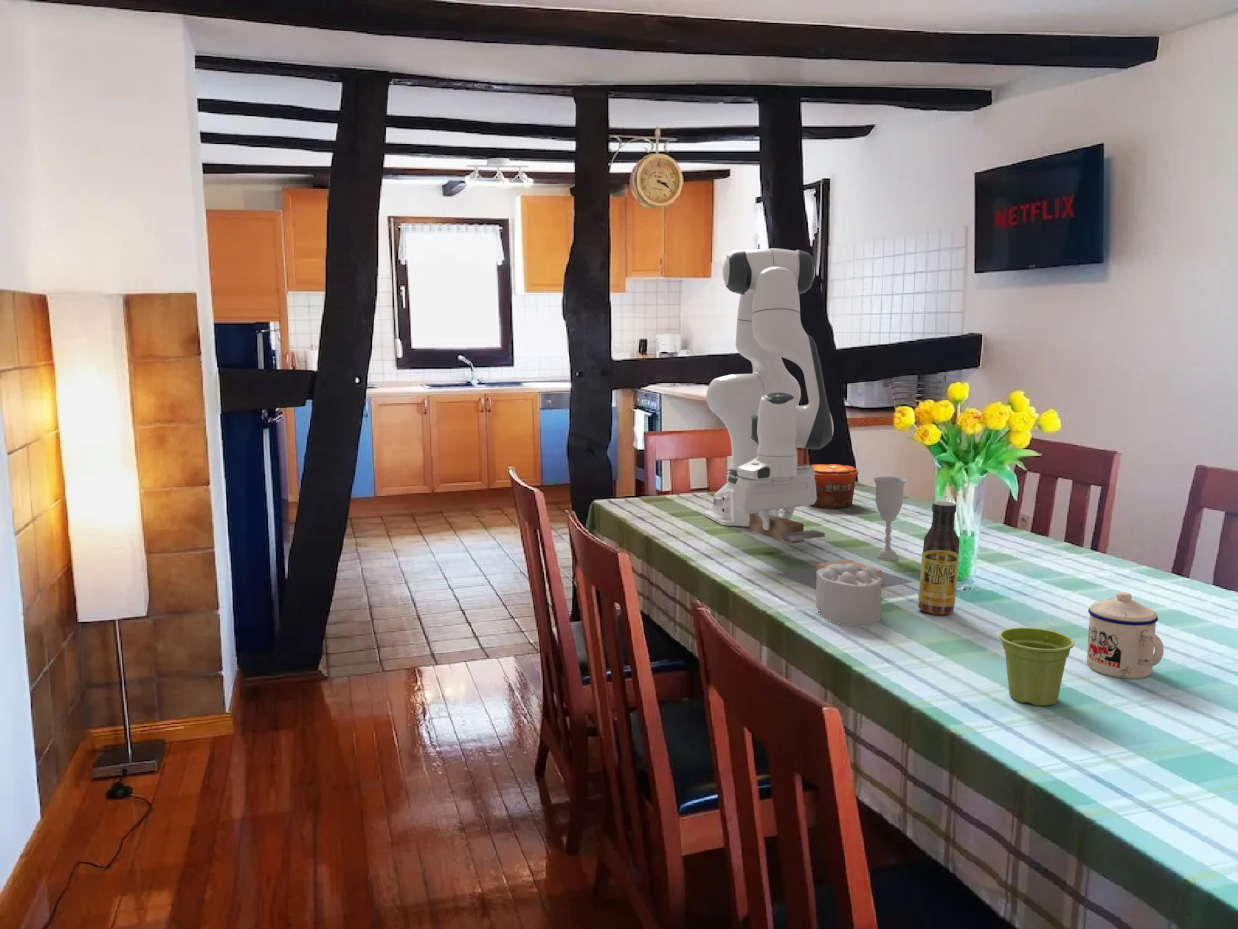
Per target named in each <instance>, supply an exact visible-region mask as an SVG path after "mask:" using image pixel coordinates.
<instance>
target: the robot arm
mask: <svg viewBox="0 0 1238 929" xmlns="http://www.w3.org/2000/svg"><path fill="white" fill-rule="evenodd" d="M815 276H816V267H815V262H814V258H813V256H812V254H810V253H809V252H808V251H804V250H800V249H796V250H791V249H787V248H786V249H784V248H774V247H773V248H772V247H770V248H755V249H744V248H741V249H736V250H732V251H731V252H729V253H728V255H727V256H726V259H725V261H724V264H723V267H722V277H723V281H724V286H725V287H726V289H728V290H729V291H730V292H732V293H735V294H739V295H740V297H739V302H738V306H737V317H736V318H737V319H736V329H735V330H736V332H735V349H736V350H737V352H738V353H739V355H741V356H742V357H743V358H745V359H746V360H748V361H749V362H751V366H752V373H738V374H737V373H735V374H734V373H733V374H728V375H727V374H726V375H723V376H718V377H716V378H715V377H714V379H712V381H710V383H709V385H708V386H707V389H706V403H707V406H708V408H709V410H710V411H711V412H712V413H713V414H714V415H716V416H717V417H718V418H719V419H720V421H722V422H723V424H724V426H725V427H726V430H727V432H728V434H729V435H728V436H729V438H730V445H731V468H730V469H726V471H727V472H726V475H728V477H727V482H725V484H724V485H723V486H722V487H721V488H720V489H719V490H717V492H715V493H714V494H713V498H712V509H708V510H705V511H703V516H705V517H706V518H709V519H710V520H712V521H714V522H716V523H718V524H719V525H720V526H721V525H722V526H728V527H729V526H731V527H732V526H733V527H734V526H735V527H739V526H740V527H749V513H756V512H759V516H760V517H761V519H762V521H763V529H765V530H770V529H773V522H772V521H769V518H768V516H767V515H773V516H777V517H781V518H784V519H788V520H791V518H792V516H793V514H794V509H795V508H798V507H804V506H805V507H806V506H809V505H813V504H814V503H815V502H816V498H817V496H816V484H815V479H814V478H815V471H814V469H813V467H811V465H810V464H808V463H804V464H798V450H797V448H798V449H803V448H804V449H805V450H806V449H807V450H816V451H817V450H818V451H819V450H821V449H823V448H824V447H826V445H828V444H829V443H830V442H831V441H832V440H833V436H834V431H835V429H834V421H833V416H832V414H831V411H830V407H829V404H828V397H827V393H826V387H825V382H824V376H823V371H822V365H821V361H820V360H821V359H820V356H819V351H818V347H817V344H816V341H815V340H814V338H813V337H812V336H811V335H809V334H808V333H807V332H806V331H805V329H804V327H803V325H802V322H801V304H800V302H801V301H800V295H802V294H805V293H806V292H807V291H808V290H810V289H811V288H812V286H813V282H814V279H815ZM782 358H784V359H786V360H789V361H790V362H793V363H794V364H796V365H797V366H798V367H799V368H800V369H801V370H802V372H803V373H802V374H803V376H804V383H805V388H806V392H807V393H806V394H807V399H808V403H807V404H805V405H799V403H800V400H801V397H802V396H801V395H802V392H801V386H800V384H799V382H798V380H797V379H796V378H795V376H793V375H792V374H791V373H790V372H789V371H788V369H787V367H786V365H785V363H784V361H783V359H782ZM809 468H811V469H809ZM781 509H782V511H784V513H783V514H782V513H780V512H781V511H780V510H781Z"/></svg>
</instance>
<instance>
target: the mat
mask: <svg viewBox="0 0 1238 929" xmlns="http://www.w3.org/2000/svg"><path fill="white" fill-rule="evenodd" d="M777 575H779V576H781V577H783V578H786V579H789V580H791V581H794V582H796V583H799V584H802V585H805V586H807V587H809V588H813V589H815V590H816V580H817V567H813V568H806V569H799V570H794V571H792V570H791V571H787V572H781V573H777ZM881 579H882V588H887V587H892V586H897V585H903V584H908V583H909V584H910V583H913V582H914V581H913V580H910V579H906V578H903V577H901V576H897V575H895V574H892V573H887V572H884V571H882V572H881Z"/></svg>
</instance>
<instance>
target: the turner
mask: <svg viewBox="0 0 1238 929" xmlns="http://www.w3.org/2000/svg"><path fill="white" fill-rule="evenodd" d="M767 516H768V518H769V521H772V522H773V529H770V530H765V529H763V521H762V519H761V517H760V516H759V512H756V513H749V526H748V528H749V531H751V532H753V533H757V534H760V535H763V536H767V537H770V538H773V539H776V540H779V541H784V542H787V543H790V544H799V543H804V540H811V539H819V538H824V537H825V535H826V534H825V532H822V531H818V530H816V529H810V530H809V529H808V530H805V529H804V527H805V526H804V525H805V524H804V523H803V522H798V521H795V520H792V519H790V520H788V519H784V518H781V517H777V516H773V515H767Z"/></svg>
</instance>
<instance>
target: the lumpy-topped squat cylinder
mask: <svg viewBox="0 0 1238 929" xmlns="http://www.w3.org/2000/svg"><path fill="white" fill-rule="evenodd" d="M875 568H876V567H872V566H870V567H866V568H861V567H860V566H858V565H857V564H854V563H846V564H830V565H828V566H827V567H826V568H821V569H819V570H818V571H817V580H816V589H815V592H816V593H815V594H816V595H815V608H816V609H817V611H818V612H817V613H818V614H819V613H820V614H819V615H820V616H821V615H822V616H821V617H822V618H823V617H824V618H825V619H824V618H823V619H824V620H826V619H828V620H831V621H834V622H837V623H836V624H838V623H840V624H839V625H842V624H843V626H847V625H848V626H849V627H855V626H866V627H871V626H874V625H876V624H878V623H879V622H880V621H881V617H882V593H883V592H882V588H883V587H882V579H881V578H880V577H879V576H878V573H877V571H876V569H877V568H876V569H875ZM828 620H827V621H828ZM879 620H880V621H879ZM831 621H830V622H831ZM834 622H833V623H834ZM848 626H847V627H848Z"/></svg>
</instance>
